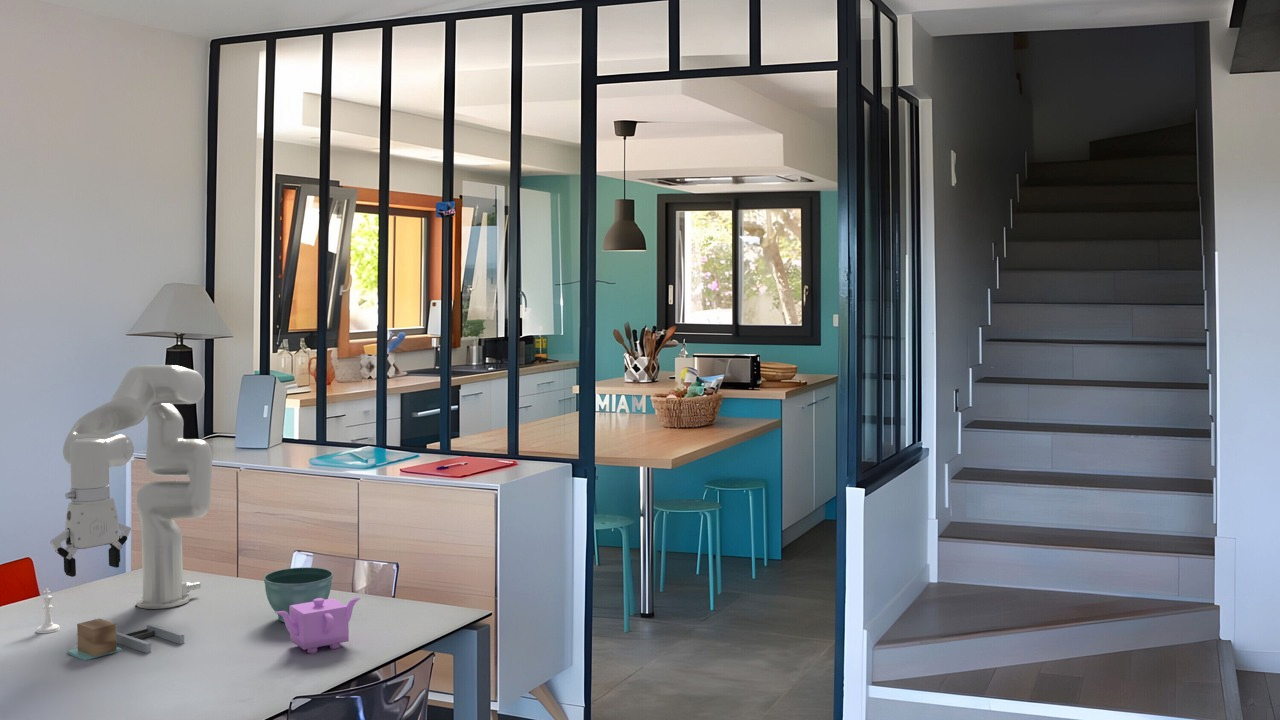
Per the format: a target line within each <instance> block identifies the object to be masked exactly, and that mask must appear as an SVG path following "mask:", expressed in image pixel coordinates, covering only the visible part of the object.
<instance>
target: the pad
mask: <svg viewBox="0 0 1280 720" xmlns="http://www.w3.org/2000/svg"><path fill="white" fill-rule="evenodd" d="M116 648H117V651H113V652H109V653H106V654H102V655H98V656H91V655H89V654H86V653H83V652H81V651H78V647H76V648H73V649H69V650H66V654H67V655H70V656H72V657H75V658H78V659H80V660H83V661H89V660H93V659H97V658H99V657H104V656H108V655H111V654H116V653H120V652H122V648H121V647H119V646H116Z"/></svg>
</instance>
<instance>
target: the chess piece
mask: <svg viewBox="0 0 1280 720" xmlns="http://www.w3.org/2000/svg"><path fill="white" fill-rule="evenodd" d="M51 593H52V591H50V590H49V588H48V587H47V588H45V590H43V594H45V595H44V596H42V600H43V603H44V605H43V606H42V609H43V610H44V609H45V610H44V621H43V623H42V625H39V626H38V627H37V628H36V633H37V634H50V633H55V632H58V631H59V630H60V629H61V627H60V625H59V624H58V623H57V624H56V623H54V621H52V619H53V618H52V614H51V608H53V605H52V604H51V602H52V598H53V596H52V595H50V594H51Z"/></svg>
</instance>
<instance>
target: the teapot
mask: <svg viewBox="0 0 1280 720" xmlns="http://www.w3.org/2000/svg"><path fill="white" fill-rule="evenodd" d="M361 599H362V597H355V598H351V600H349V601H348V603H347V605H346V604H344V603H343V602H341V601H339V600H338V599H335V598H333V597H332V598H328V599H325V600H324V599H323V598H317V599H314V600H313V602H307V603H301V604H296V605H290V617H289V615H288V613H287V612H285V611H277V612H275V611H273V612H274V613H275V614H277V615H278V614H280V615H281V616H282V617H283V619H284V622H283V623H284V624H285V626H286V629H287V631H288V632H289V640H290V641H291V642H292V643H293V644H295V645H296V646H297V647H298V648H301V649H302V650H303V651H306V650H307V651H306V653H307V654H315V653H317V652H318V648H321V647H325V646H329V649H331V650H333V649H334V650H336V649H340V648H341V646H340V644H341V643H346V642H349V632H350V631H349V630H350V629H349V622H350V620H351V619H352V615H353V609H354V606H355V605H356V603H357V602H358V601H360V600H361Z"/></svg>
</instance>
